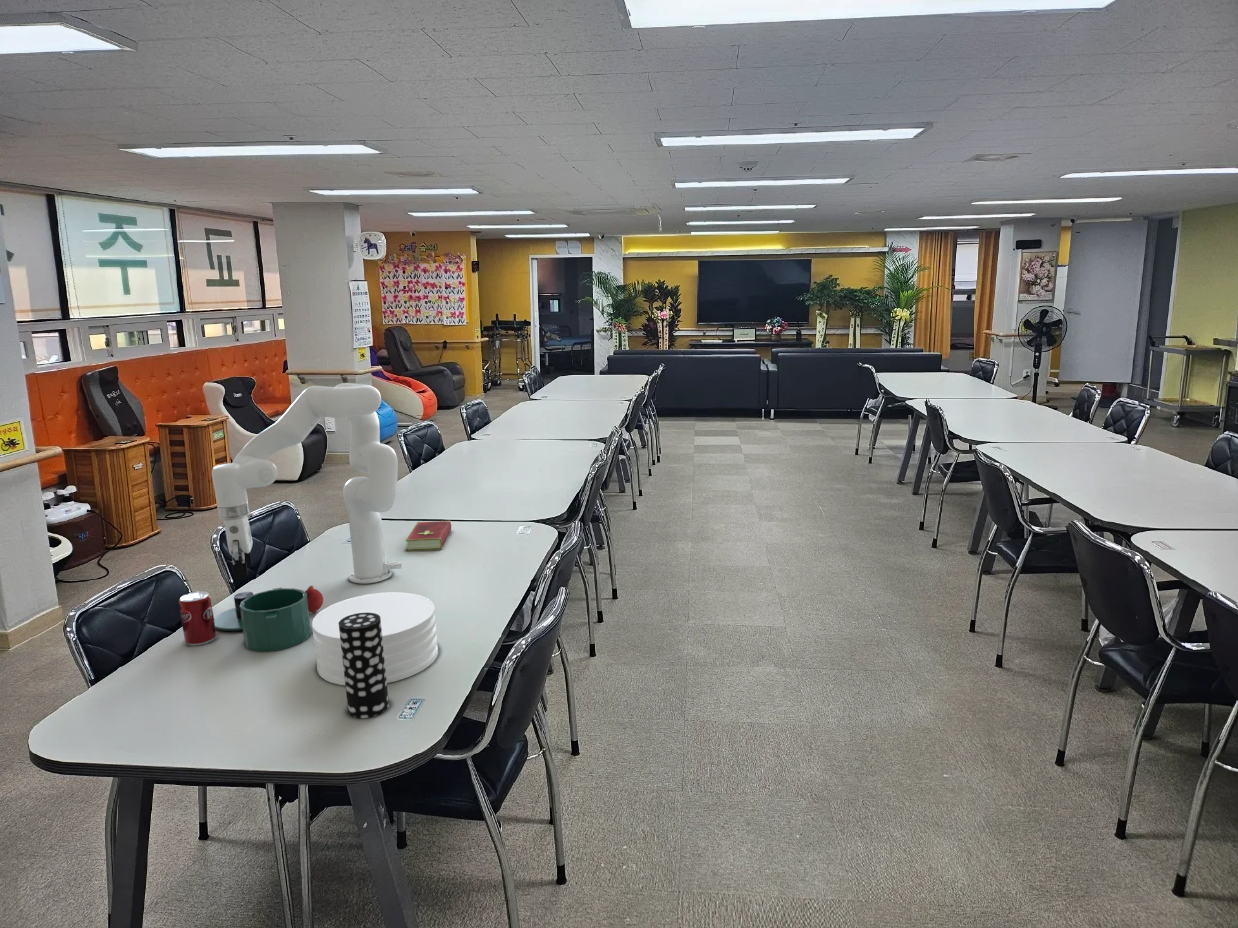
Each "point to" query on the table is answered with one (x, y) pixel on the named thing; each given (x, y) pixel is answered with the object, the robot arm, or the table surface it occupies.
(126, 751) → the table surface
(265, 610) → the pot
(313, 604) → the onion
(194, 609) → the soda can
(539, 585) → the table surface
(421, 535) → the hardcover book
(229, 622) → the lid
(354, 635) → the white-spotted black cylinder
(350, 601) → the plate stack
